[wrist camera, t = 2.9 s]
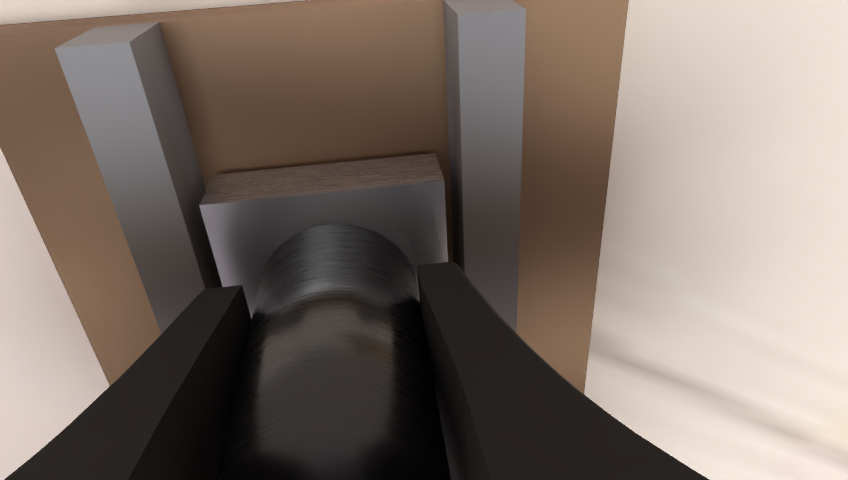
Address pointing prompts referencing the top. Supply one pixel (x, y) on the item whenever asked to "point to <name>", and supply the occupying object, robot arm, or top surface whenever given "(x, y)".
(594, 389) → the top surface
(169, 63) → the bench
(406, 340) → the ram
